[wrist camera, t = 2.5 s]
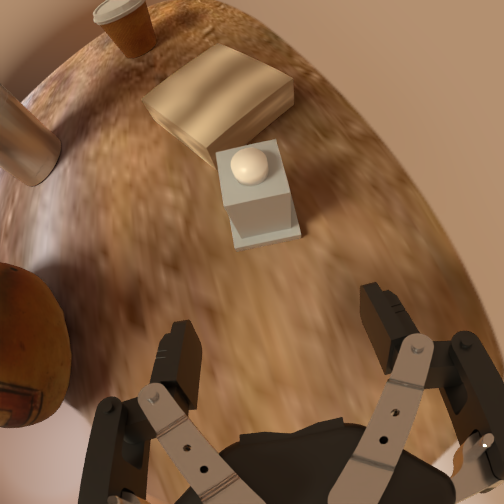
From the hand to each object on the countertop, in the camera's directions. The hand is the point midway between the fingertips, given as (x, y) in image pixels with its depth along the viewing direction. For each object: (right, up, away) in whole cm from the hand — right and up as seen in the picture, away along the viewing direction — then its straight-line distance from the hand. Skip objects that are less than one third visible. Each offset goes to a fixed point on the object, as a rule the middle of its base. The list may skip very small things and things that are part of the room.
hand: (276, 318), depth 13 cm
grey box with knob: (0, +7, +17) cm, 18 cm away
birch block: (-5, +21, +22) cm, 30 cm away
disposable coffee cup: (-21, +40, +29) cm, 54 cm away
